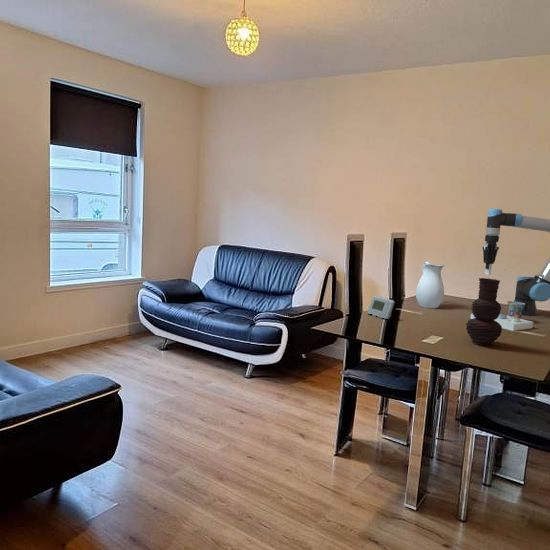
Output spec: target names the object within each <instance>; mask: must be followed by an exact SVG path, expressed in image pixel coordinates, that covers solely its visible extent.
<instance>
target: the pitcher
mask: <svg viewBox="0 0 550 550" xmlns="http://www.w3.org/2000/svg"><path fill="white" fill-rule="evenodd" d="M444 266H445V264H442V265H436V264H432V263H431V262H429V261H425V262H424V263H423V264H422V268H421V271H422V272H421V273H422V275H421V277H420V279H419V281H418V283H417V286H416V290H415V297H416V301H417V303H418V306H419V307H422V308H425V309H438V308H439V307H440V305H441V304H442V302H443V300H444V296H445V287H444V282H443V279H442V269H443V268H444Z"/></svg>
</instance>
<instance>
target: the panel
mask: <svg viewBox="0 0 550 550" xmlns="http://www.w3.org/2000/svg"><path fill="white" fill-rule="evenodd" d="M500 315H503V314H501V313H500ZM504 315H505V314H504ZM505 316H506V319H500V318H497V319H495V321H497V322H498V323H499V324H500V325H501V326H502V329H504V330H508V331H513V332H514V331H515V332H516V331H522V330H528V329H529V330H530V329H533V327H534V321H531V320H526V319H523V318H522V319H520V322H518V323H516V322H512V321H510V318H515V317H510V316H508V315H505ZM474 318H475V317H474V315H473V313H470V318H469V319H474ZM518 319H519V318H518Z"/></svg>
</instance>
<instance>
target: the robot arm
mask: <svg viewBox="0 0 550 550" xmlns="http://www.w3.org/2000/svg"><path fill="white" fill-rule="evenodd" d="M501 226H504V227H512V228H519V229H526V230H531V231H532V230H533V231H541V232H547V233H549V234H550V219H549V218H540V217H533V216H526V215H522V214H521V213H512V212H511V213H510V212H509V213H508V212H503V209H501V208H489V210H488V214H487V219H486V227H485V228H486V229H485V234H486V235H485V236H484V241H485V245H484V246H482V253H483V254H482V255H483V263H484V264H485V269H484V275H488V276H490V275H491V273H492V267H493V266H492V265H493V264H494V263H495V261H496V258H497V254H498V251H499V249H500V247H499V246H498V242H499V239H500V236H499V235H500V234H501ZM549 299H550V257H549V258H548V260H547V262H546V263H545V264H544V266H543V267H542V270H540V272H539V273H538V274H535V275H534V276H518V277H517V279H516V288H515V295H514V300H513V301H515V302H521V303H525V306H524V307H523V309H522V313H521V315H525V316H537V314H538V308H537V305H536V303H537V302H546V301H548V300H549Z"/></svg>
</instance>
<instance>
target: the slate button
mask: <svg viewBox="0 0 550 550" xmlns="http://www.w3.org/2000/svg"><path fill="white" fill-rule="evenodd" d="M506 316H507V315H506ZM506 316H505V314H502V315H499V317H498V318H500V319H506Z"/></svg>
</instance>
